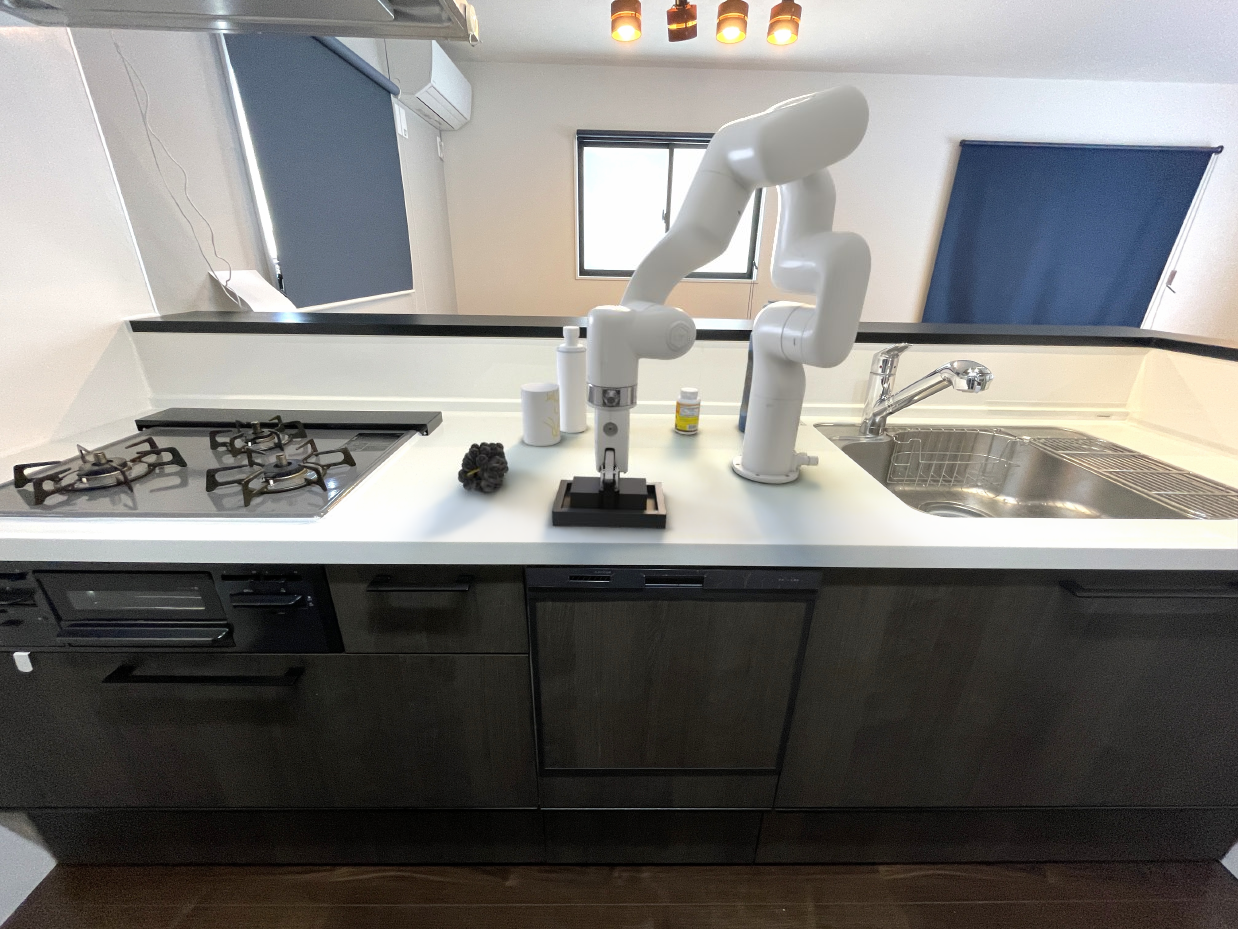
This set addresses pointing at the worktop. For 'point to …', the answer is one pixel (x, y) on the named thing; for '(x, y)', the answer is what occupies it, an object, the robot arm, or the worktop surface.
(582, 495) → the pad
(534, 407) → the cup
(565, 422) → the tall white capped bottle
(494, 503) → the worktop surface
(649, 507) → the shallow rectangular tray
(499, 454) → the fruit
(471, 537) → the worktop surface
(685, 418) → the supplement bottle
